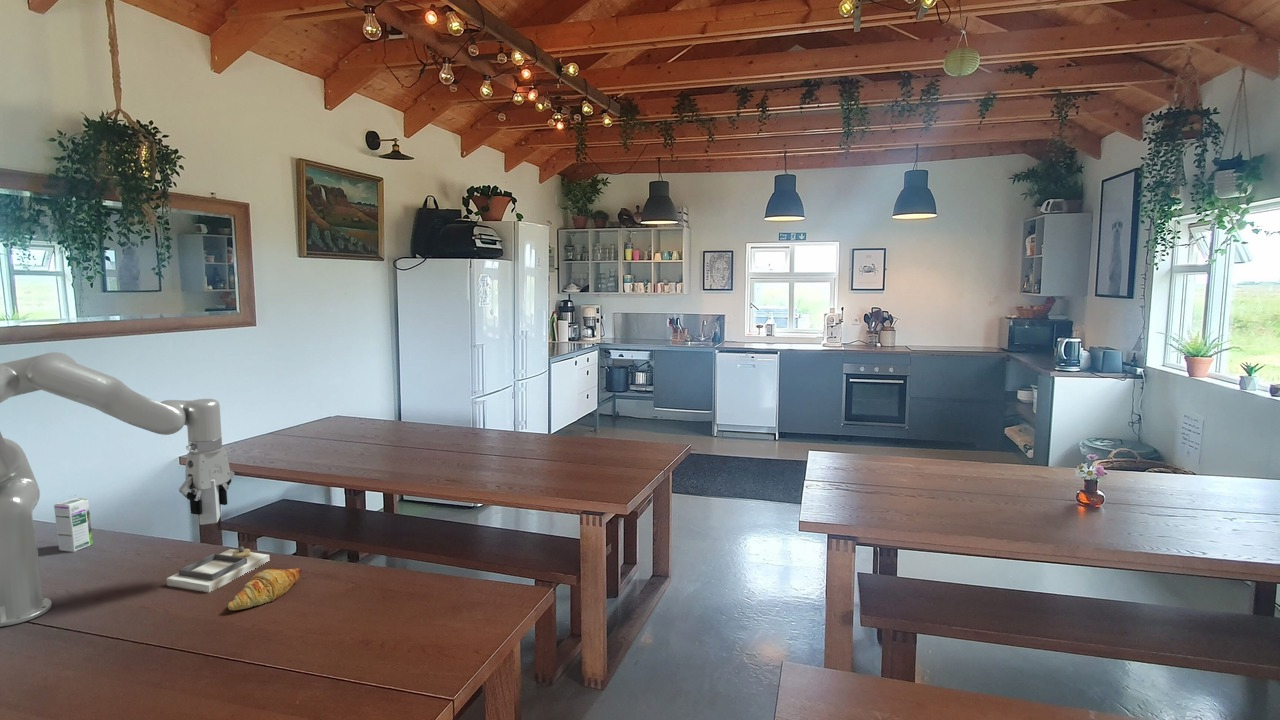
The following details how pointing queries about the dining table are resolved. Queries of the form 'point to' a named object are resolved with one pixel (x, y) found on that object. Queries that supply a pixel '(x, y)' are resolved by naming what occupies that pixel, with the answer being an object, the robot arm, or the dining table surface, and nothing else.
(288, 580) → the croissant
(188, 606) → the dining table surface
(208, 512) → the skincare box
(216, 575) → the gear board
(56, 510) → the syrup box
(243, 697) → the dining table surface
